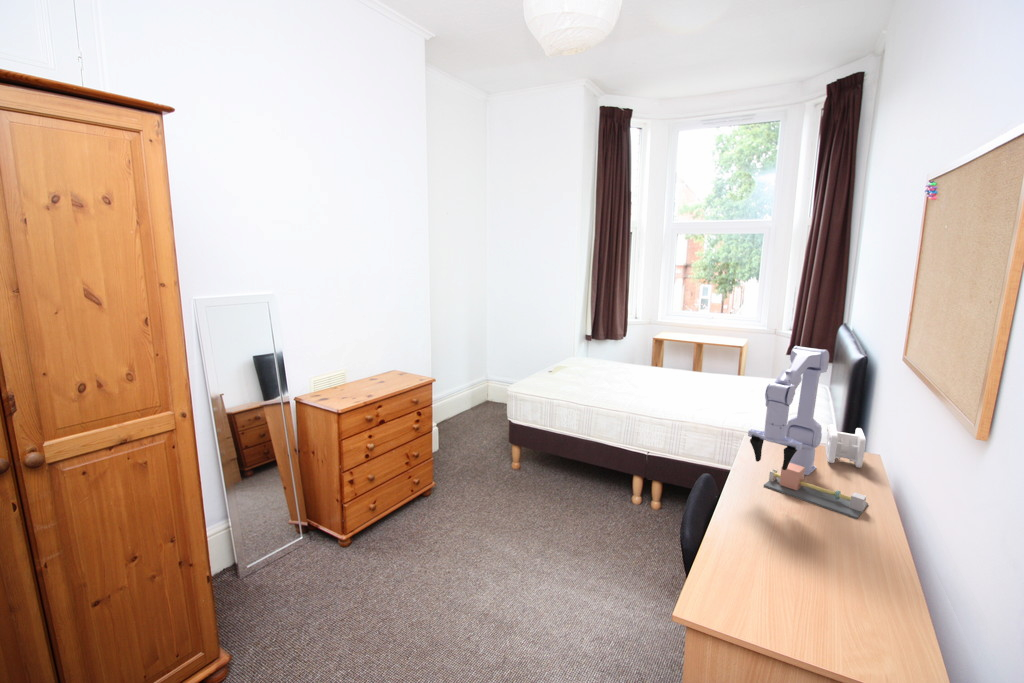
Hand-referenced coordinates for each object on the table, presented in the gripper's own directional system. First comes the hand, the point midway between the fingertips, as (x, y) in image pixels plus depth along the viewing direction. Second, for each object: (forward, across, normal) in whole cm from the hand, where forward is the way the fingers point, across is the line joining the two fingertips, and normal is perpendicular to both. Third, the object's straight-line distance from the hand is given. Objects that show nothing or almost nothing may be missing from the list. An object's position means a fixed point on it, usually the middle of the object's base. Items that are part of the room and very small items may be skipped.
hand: (771, 464), depth 142 cm
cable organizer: (+10, +8, +48) cm, 50 cm away
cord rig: (+10, +9, +11) cm, 17 cm away
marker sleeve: (+10, +3, +11) cm, 15 cm away
